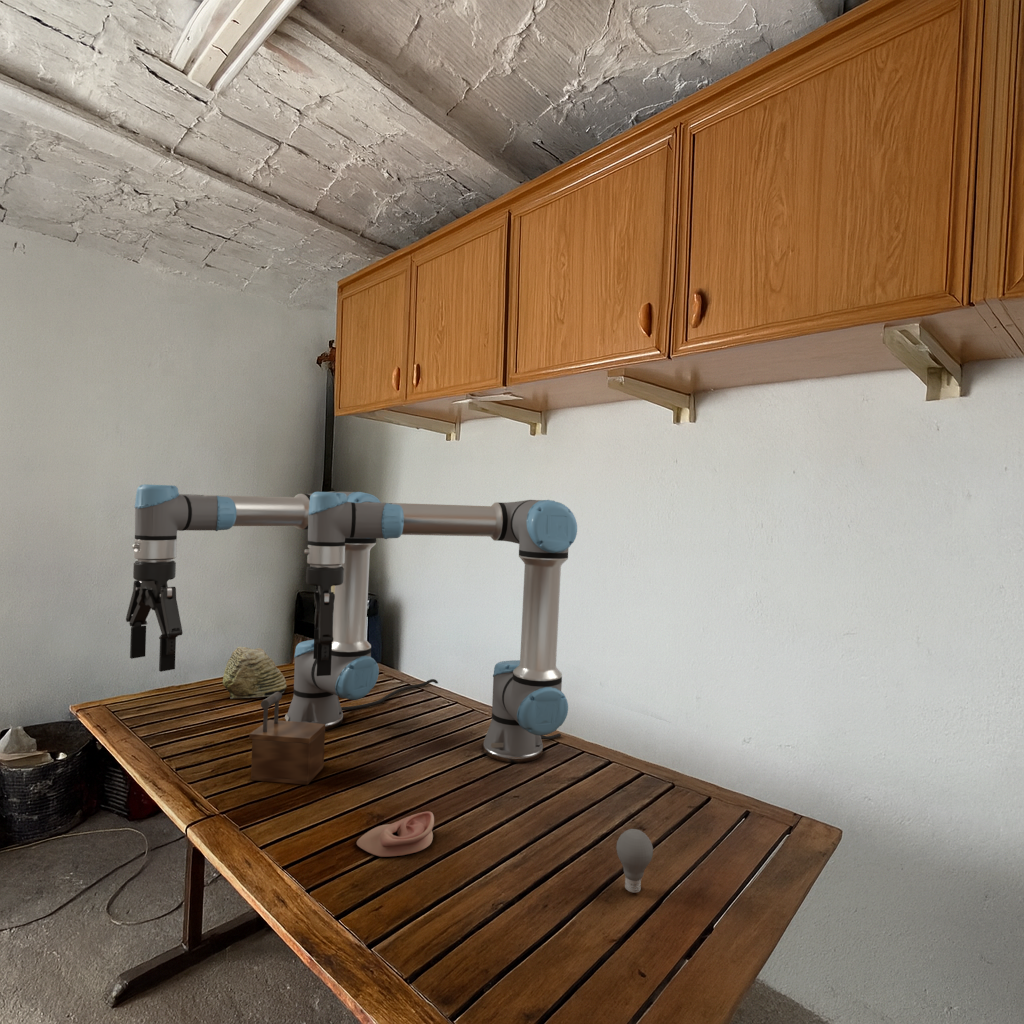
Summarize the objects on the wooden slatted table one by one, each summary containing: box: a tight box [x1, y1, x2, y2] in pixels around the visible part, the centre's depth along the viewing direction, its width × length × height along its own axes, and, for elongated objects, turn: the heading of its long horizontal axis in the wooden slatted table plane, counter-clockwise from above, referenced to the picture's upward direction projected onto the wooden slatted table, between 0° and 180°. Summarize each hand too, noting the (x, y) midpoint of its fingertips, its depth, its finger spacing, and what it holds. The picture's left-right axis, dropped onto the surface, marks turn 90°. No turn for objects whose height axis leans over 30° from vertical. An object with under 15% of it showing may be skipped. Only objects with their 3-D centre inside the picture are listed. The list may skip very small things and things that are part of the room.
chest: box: [250, 729, 326, 786], centre depth 144 cm, size 13×9×9 cm
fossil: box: [222, 646, 288, 699], centre depth 198 cm, size 9×18×15 cm, turn 132°
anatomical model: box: [356, 811, 435, 858], centre depth 118 cm, size 13×4×12 cm
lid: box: [248, 692, 325, 744], centre depth 144 cm, size 14×9×8 cm
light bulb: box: [615, 828, 654, 894], centre depth 106 cm, size 6×6×10 cm
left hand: (151, 663), depth 130 cm, fingers open, 13 cm apart
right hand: (321, 666), depth 133 cm, fingers open, 13 cm apart
